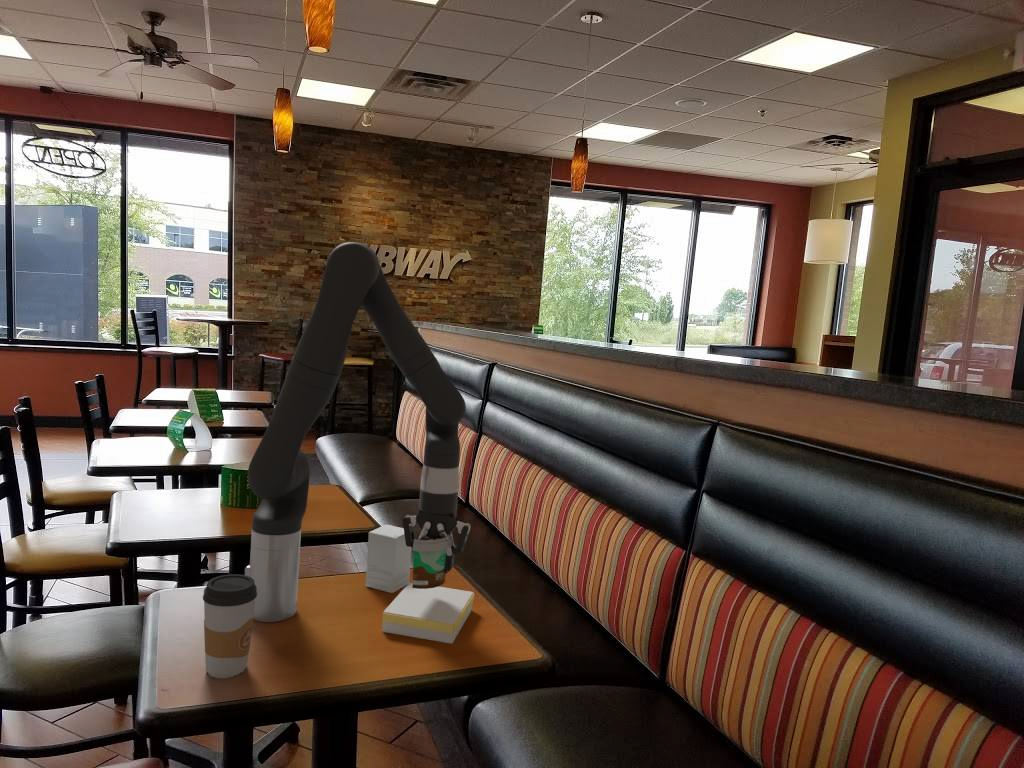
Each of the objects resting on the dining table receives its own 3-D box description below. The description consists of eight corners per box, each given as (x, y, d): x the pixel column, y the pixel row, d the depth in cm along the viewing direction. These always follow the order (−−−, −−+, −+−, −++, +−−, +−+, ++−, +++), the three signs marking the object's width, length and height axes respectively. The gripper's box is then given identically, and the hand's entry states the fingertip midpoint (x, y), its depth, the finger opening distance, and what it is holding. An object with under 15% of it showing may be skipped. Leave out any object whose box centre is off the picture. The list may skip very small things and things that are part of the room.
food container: (440, 595, 134) (443, 544, 133) (409, 590, 135) (413, 540, 134) (458, 573, 146) (461, 526, 145) (429, 569, 147) (432, 523, 146)
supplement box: (410, 583, 160) (414, 529, 159) (391, 594, 153) (396, 538, 152) (383, 576, 163) (387, 523, 161) (363, 586, 156) (367, 531, 155)
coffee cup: (235, 686, 112) (240, 596, 110) (188, 677, 113) (192, 588, 112) (262, 661, 120) (267, 577, 119) (218, 653, 121) (222, 570, 120)
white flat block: (381, 632, 135) (382, 612, 134) (408, 599, 151) (409, 581, 150) (453, 644, 132) (455, 624, 132) (473, 610, 148) (474, 592, 148)
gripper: (398, 487, 136) (392, 571, 138) (470, 496, 134) (463, 582, 136) (410, 478, 144) (405, 558, 145) (478, 487, 141) (472, 569, 143)
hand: (433, 569), depth 141 cm, fingers closed on food container, 5 cm apart
